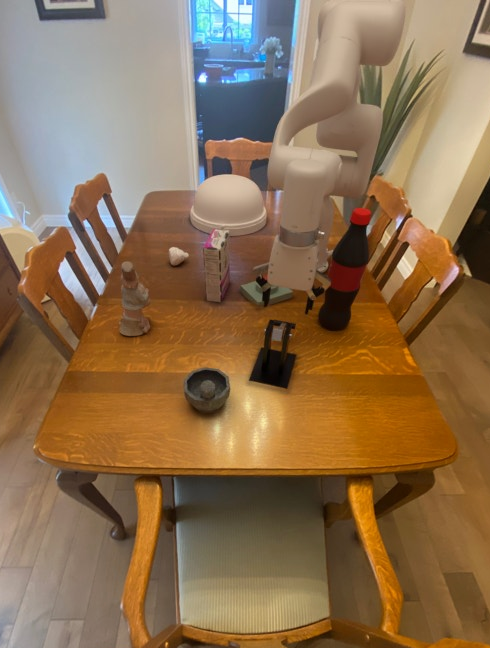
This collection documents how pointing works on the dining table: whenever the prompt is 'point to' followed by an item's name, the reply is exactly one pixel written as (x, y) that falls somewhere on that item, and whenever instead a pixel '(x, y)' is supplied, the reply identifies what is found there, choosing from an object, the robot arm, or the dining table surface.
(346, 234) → the cola bottle
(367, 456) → the dining table surface
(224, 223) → the dome cover
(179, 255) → the garlic bulb
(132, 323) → the figurine
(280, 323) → the lever
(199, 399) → the mortar and pestle
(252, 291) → the control block
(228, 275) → the candy bar box
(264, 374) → the bracket
